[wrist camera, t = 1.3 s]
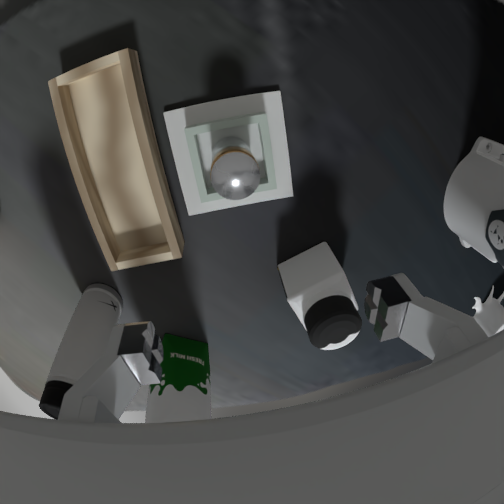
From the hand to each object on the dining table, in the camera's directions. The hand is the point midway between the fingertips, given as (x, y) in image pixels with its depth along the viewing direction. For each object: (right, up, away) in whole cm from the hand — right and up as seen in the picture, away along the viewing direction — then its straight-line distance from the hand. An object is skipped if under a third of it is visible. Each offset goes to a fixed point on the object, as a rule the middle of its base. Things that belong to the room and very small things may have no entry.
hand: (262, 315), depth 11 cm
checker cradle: (-3, +13, +20) cm, 24 cm away
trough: (-15, +12, +19) cm, 27 cm away
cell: (-2, +13, +20) cm, 24 cm away
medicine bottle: (+8, 0, +30) cm, 31 cm away
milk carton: (-12, -14, +36) cm, 40 cm away
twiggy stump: (+54, -11, +43) cm, 70 cm away
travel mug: (-22, -4, +29) cm, 36 cm away
